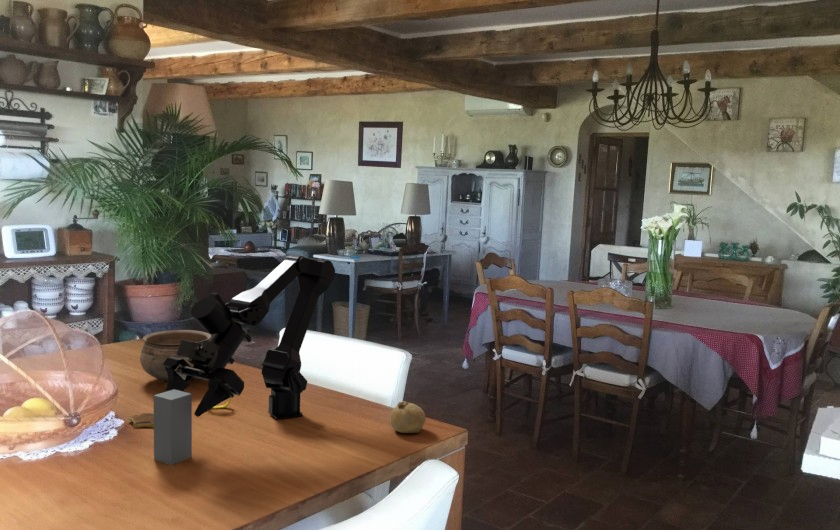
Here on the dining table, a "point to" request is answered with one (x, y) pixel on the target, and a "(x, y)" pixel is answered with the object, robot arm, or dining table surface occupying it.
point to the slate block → (172, 426)
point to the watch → (222, 405)
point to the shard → (142, 420)
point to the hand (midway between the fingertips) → (179, 411)
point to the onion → (407, 418)
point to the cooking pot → (166, 349)
